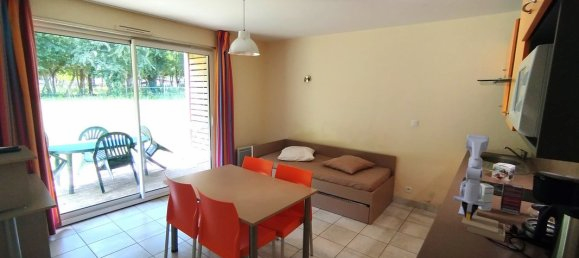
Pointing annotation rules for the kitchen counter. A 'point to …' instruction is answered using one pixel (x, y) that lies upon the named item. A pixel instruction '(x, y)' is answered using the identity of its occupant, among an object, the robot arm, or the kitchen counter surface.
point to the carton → (499, 236)
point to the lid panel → (481, 222)
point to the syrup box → (486, 196)
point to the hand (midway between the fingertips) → (468, 217)
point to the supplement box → (511, 198)
